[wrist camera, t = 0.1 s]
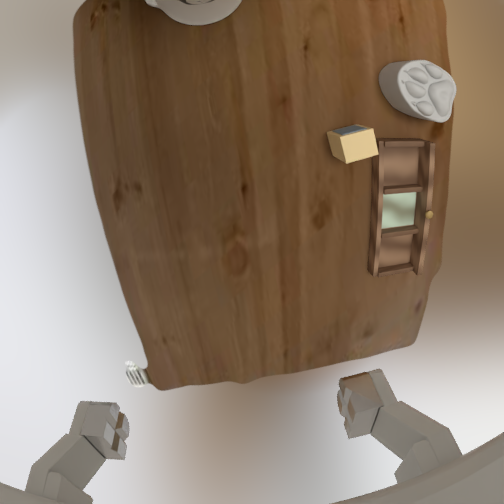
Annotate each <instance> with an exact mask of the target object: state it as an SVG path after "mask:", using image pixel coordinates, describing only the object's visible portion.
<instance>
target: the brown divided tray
mask: <svg viewBox="0 0 504 504" xmlns="http://www.w3.org/2000/svg"><path fill="white" fill-rule="evenodd" d="M376 144H377V149H378V155H375V156H372V208H371V231H370V247H369V261H368V271H369V272H370V273H371V275H372V276H373V277H375V276H378V277H382V276H388V275H393V274H398V273H404V272H409V271H414V272H415V274H416V275H421V274H422V269H423V264H424V258H425V251H426V245H427V238H428V230H429V222H430V219H431V218H432V216H433V212H432V211H431V204H432V193H433V180H434V162H435V143H432V142H429V141H426V140H423V139H418V138H387V139H376Z"/></svg>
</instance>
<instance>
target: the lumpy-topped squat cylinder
mask: <svg viewBox="0 0 504 504" xmlns="http://www.w3.org/2000/svg"><path fill="white" fill-rule="evenodd" d="M379 85H380V88H381V91H382V93H383V95H384V96H385V98H386V99H387V100H388V102H389V103H390V104H391V105H392V106H393V107H394V108H395V109H397V110H399V111H400V112H402V113H405V114H407V115H410V116H413V117H416V118H420V119H425V120H430V121H435V122H445V121H446V120H448V119H449V117H450V115H451V111H452V103H453V99H454V97H455V94H456V84H455V82H454V80H453V78H452V77H451V76H450V75H449V74H448V73H447V72H446V71H444V70H443V69H442V68H440V67H439V66H437V65H435V64H433V63H431V62H429V61H426V60H412V61H402V62H394V63H390V64H388V65H387V66H385V67H384V68H383V69H382V70H381V72H380V74H379Z"/></svg>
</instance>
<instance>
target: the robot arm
mask: <svg viewBox="0 0 504 504" xmlns="http://www.w3.org/2000/svg"><path fill="white" fill-rule="evenodd" d="M145 1H146V3H147V4H148V5H150V6H153V7H156V8H160V9H161V10H163V11H164V12H165V13H166V14H167V15H168V16H169V17H171V18H172V19H174V20H176V21H178V22H180V23H184V24H188V25H206V24H210V23H214V22H217V21H219V20H222V19H224V18H225V17H227V16H228V15H230V14H231V13H232V12H233V11H234V10H235V9H236V8H237V7H238V6H239V4H240V3H241V1H242V0H145ZM339 387H340V390H339V391H338V394H337V401H338V407H339V411H340V414H341V415H342V416H343V417H345V422H344V426H345V429H346V432H347V435H348V438H349V439H350V438H354V437H358V436H363V435H366V434H370V433H371V435H372V436H373V437H374V438H376V439H377V440H378V441H379V442H380V443H382V444H383V445H384V446H385V447H387V448H388V449H389V450H391V451H392V452H393V453H394V454H396V455H397V456H398V457H399V458H401V459H402V460H403V462H402V463H401V464H400V466H399V468H398V469H397V470H396V472H395V477H396V480H397V483H398V484H396V485H393V486H390V487H387V488H385V489H381V490H378V491H375V492H372V493H369V494H365V495H362V496H358V497H355V498H351V499H348V500H344V501H340V502H336V503H332V504H504V432H503V433H501V434H500V435H498V436H497V437H495V438H493V439H492V440H490V441H488V442H486V443H485V444H483V445H481V446H479V447H478V448H476V449H474V450H472V451H470V452H468V453H467V454H465V455H462V453H461V451H460V449H459V447H458V445H457V443H456V441H455V439H454V437H453V436H452V433H451V432H450V430H449V428H447V427H445V426H443V425H442V424H440V423H438V422H437V421H435V420H433V419H431V418H430V417H428V416H426V415H424V414H423V413H421V412H419V411H418V410H416V409H414V408H412V407H411V406H409V405H407V404H406V403H404V402H402V401H399V402H398V401H397V399H396V397H395V395H394V393H393V391H392V389H391V387H390V385H389V383H388V381H387V379H386V377H385V375H384V373H383V372H382V370H381V369H376V370H373V371H369V372H363V373H360V374H356V375H352V376H348V377H344V378H340V380H339ZM119 409H120V407H119V406H118V405H117V403H110V402H91V401H90V402H89V401H81V402H80V403H79V404H78V406H77V409H76V412H75V415H74V419H73V422H72V425H71V428H70V432H69V434H65V435H64V436H63V437H62V438H61V439H60V440H59V441H58V442H57V443H56V444H55V445H54V446H52V447H51V448H50V449H49V450H48V451H47V452H46V453H45V454H44V455H43V456H42V457H41V458H40V459H39V460H38V461H36V462H35V463H34V464H33V465H32V467H31V471H30V474H29V478H28V482H27V485H26V489H25V491H22V490H19V489H16V488H14V487H11V486H8V485H5V484H3V483H0V504H92V502H93V499H92V498H91V496H89V495H88V494H86V493H85V492H84V491H82V490H83V489H84V488H85V486H86V485H87V484H88V483H89V481H90V480H91V479H92V477H93V476H94V475H95V474H96V472H97V471H98V470H99V468H100V467H101V466H102V464H103V463H104V462H105V460H106V459H119V460H120V459H121V460H124V459H125V454H126V448H127V445H126V443H125V442H124V440H125V439H126V438H127V437H128V436H129V422H128V419H127V417H126V416H125V414H123V413H121V412H119Z"/></svg>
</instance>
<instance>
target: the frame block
mask: <svg viewBox="0 0 504 504" xmlns="http://www.w3.org/2000/svg"><path fill="white" fill-rule="evenodd" d="M327 136H328V140H329V144H330V147H331V151H332V155H333V156H334V157H336V158H338V159H339V160H341V161H343V162H345V163H346V164H347V163H350V162H354V161H357V160H361V159H364V158H368V157H371V156H375V155H378V149H377V144H376V139H375V135H374V130H373V128H369V127H366V126H362V125H358V124H355V125H351V126H347V127H344V128H340V129H336V130H332V131H329V132H327Z"/></svg>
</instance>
